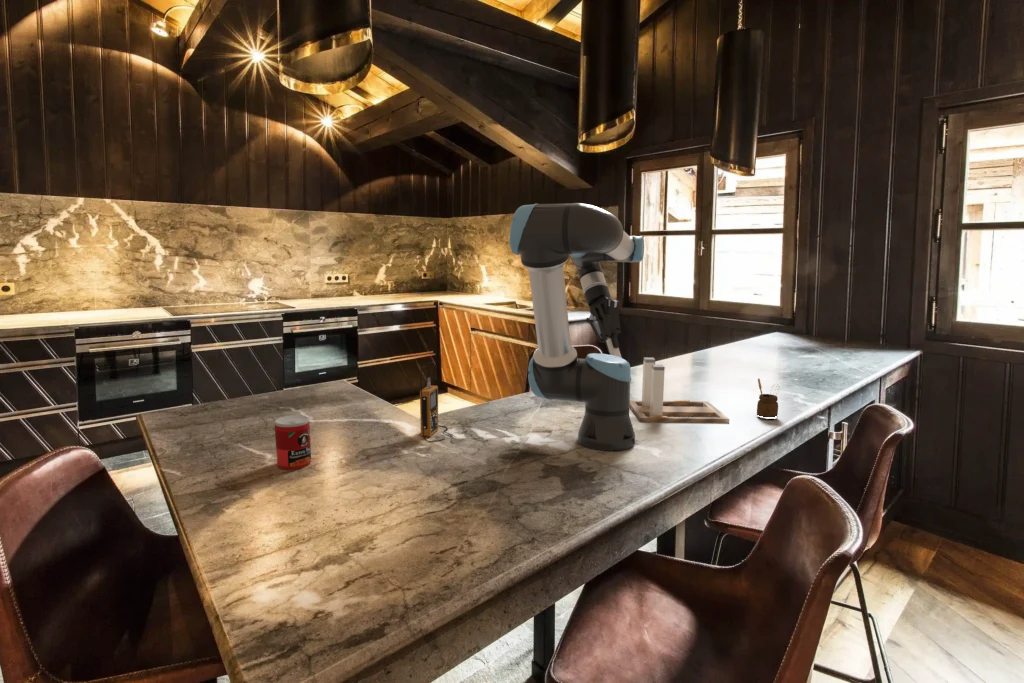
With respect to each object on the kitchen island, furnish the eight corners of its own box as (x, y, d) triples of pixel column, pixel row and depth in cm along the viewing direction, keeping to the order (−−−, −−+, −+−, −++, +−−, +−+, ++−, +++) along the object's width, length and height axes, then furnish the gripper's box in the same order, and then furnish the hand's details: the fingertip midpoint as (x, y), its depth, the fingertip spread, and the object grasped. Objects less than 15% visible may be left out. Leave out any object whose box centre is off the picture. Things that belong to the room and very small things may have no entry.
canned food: (291, 472, 132) (288, 426, 130) (269, 465, 136) (267, 420, 134) (318, 462, 138) (316, 418, 137) (297, 456, 143) (294, 413, 141)
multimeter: (451, 444, 152) (450, 370, 149) (415, 441, 154) (414, 368, 151) (466, 427, 166) (466, 360, 163) (433, 425, 168) (432, 358, 165)
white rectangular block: (652, 419, 171) (654, 366, 168) (649, 416, 174) (651, 364, 172) (662, 419, 171) (664, 367, 168) (659, 416, 174) (661, 364, 172)
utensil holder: (774, 421, 174) (777, 383, 172) (753, 418, 177) (755, 380, 176) (779, 417, 178) (782, 379, 176) (758, 413, 182) (760, 376, 180)
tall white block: (643, 408, 183) (645, 359, 180) (641, 405, 186) (643, 357, 184) (653, 408, 183) (655, 359, 180) (650, 406, 186) (653, 357, 184)
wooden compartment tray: (639, 425, 169) (640, 416, 168) (627, 407, 189) (628, 399, 188) (728, 426, 168) (729, 417, 168) (707, 408, 188) (707, 400, 188)
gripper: (618, 280, 175) (641, 350, 166) (591, 300, 184) (611, 368, 175) (600, 277, 170) (622, 350, 162) (573, 299, 180) (593, 368, 171)
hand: (616, 359), depth 169 cm, fingers closed
